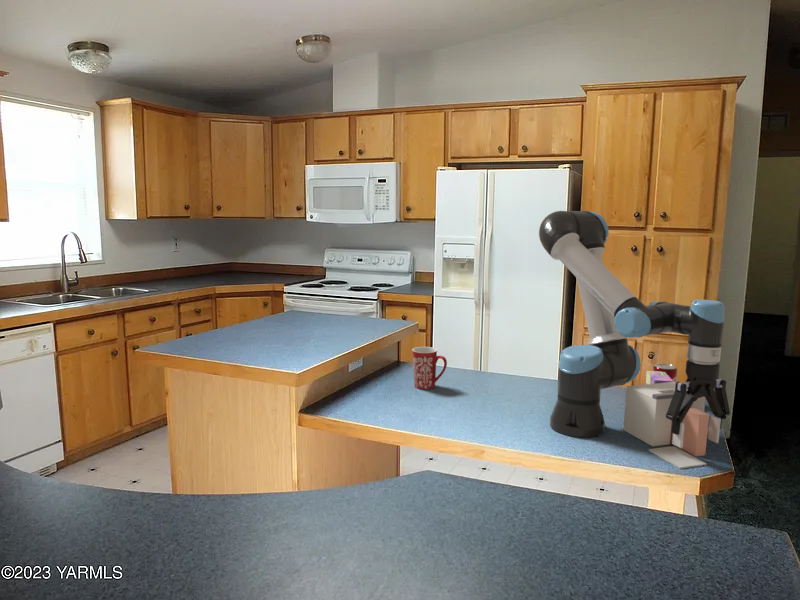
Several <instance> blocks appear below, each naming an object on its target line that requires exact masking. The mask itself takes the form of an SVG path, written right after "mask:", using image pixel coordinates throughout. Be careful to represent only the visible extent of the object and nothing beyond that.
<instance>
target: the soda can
mask: <svg viewBox="0 0 800 600" xmlns="http://www.w3.org/2000/svg"><path fill="white" fill-rule="evenodd" d="M652 371H661V372H666V374H667V375H668V376H669V377H670V378H671V379H672V380H673V381H674V382H675V383H676V382H677V378H678V368H677V366H675V365H674V364H673V365H672V364H668V363H659V362H658V363H655V364H654V365H653V366H652Z"/></svg>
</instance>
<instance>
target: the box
mask: <svg viewBox="0 0 800 600" xmlns="http://www.w3.org/2000/svg"><path fill="white" fill-rule="evenodd" d="M667 382H674V381H673V380H672V379H671V378H670V377H669V376H668V375H667V374H666V372H661V371H653V370H646V375H645V384H656V383H667Z"/></svg>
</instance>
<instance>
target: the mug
mask: <svg viewBox="0 0 800 600" xmlns="http://www.w3.org/2000/svg"><path fill="white" fill-rule="evenodd" d="M411 351H412V363H413V379H414V382H413V383H414V387H415V388H416V389H419V390H431V389H432V390H433V388H435V387H436V382H437V381H438V380H440V378H441V377H442V376H443V374H444V373H445V371H446V369H447V367H448V361H447V357H445V356H444V355H438V354H437V352H438V348H437V347H431V346H419V347H417V346H416V347H413V348H412V349H411ZM439 359H441V360H442V361H443V363H444V364H443V369H442V370H441V371H440V373H439V374H438V376H436V374H437V372H436V371H437V363H438V360H439Z"/></svg>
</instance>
